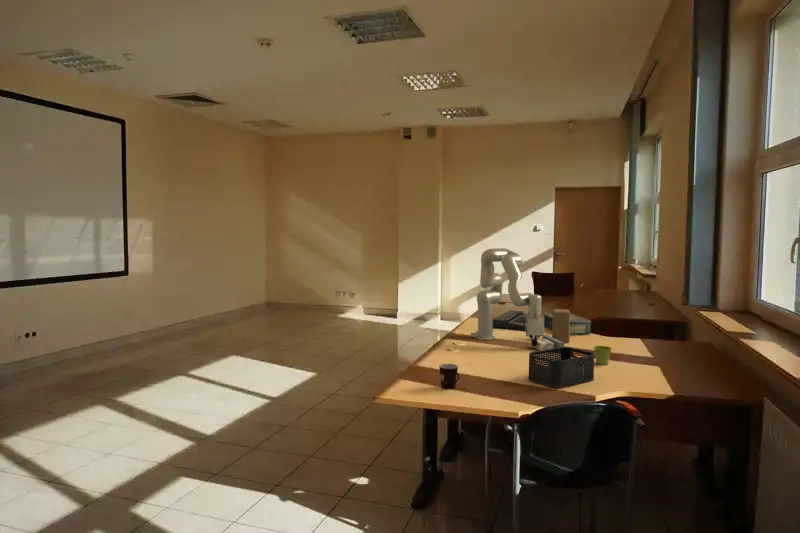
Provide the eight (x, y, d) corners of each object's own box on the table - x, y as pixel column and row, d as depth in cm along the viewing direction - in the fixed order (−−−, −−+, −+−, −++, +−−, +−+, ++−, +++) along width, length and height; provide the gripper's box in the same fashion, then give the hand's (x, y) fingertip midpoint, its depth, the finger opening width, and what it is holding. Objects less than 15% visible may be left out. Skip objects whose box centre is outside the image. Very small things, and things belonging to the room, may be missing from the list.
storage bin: (565, 371, 278) (565, 345, 277) (597, 380, 262) (597, 353, 261) (525, 380, 263) (525, 352, 262) (556, 390, 247) (557, 361, 246)
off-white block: (540, 352, 319) (540, 343, 318) (533, 347, 331) (533, 339, 330) (553, 351, 320) (554, 343, 319) (546, 346, 332) (546, 338, 331)
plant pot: (612, 362, 294) (612, 346, 294) (611, 366, 286) (611, 350, 285) (593, 360, 298) (594, 345, 298) (592, 364, 290) (592, 348, 289)
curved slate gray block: (559, 353, 315) (559, 342, 315) (542, 344, 337) (542, 335, 336) (564, 352, 316) (564, 342, 315) (546, 344, 337) (546, 334, 337)
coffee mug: (437, 384, 255) (437, 364, 254) (455, 384, 256) (455, 363, 255) (441, 392, 244) (441, 370, 243) (460, 392, 244) (460, 370, 243)
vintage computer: (527, 331, 376) (527, 320, 375) (488, 329, 389) (487, 317, 389) (542, 322, 414) (542, 311, 413) (505, 320, 427) (505, 310, 427)
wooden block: (569, 343, 340) (570, 311, 338) (553, 342, 342) (553, 311, 340) (568, 339, 350) (568, 309, 348) (551, 339, 352) (552, 308, 350)
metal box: (562, 336, 361) (562, 321, 360) (542, 327, 393) (542, 313, 392) (592, 335, 364) (592, 320, 364) (570, 326, 396) (570, 312, 396)
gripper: (525, 317, 317) (525, 348, 319) (549, 316, 320) (548, 346, 321) (520, 314, 324) (519, 345, 326) (543, 314, 327) (543, 344, 329)
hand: (534, 345), depth 324 cm, fingers closed
